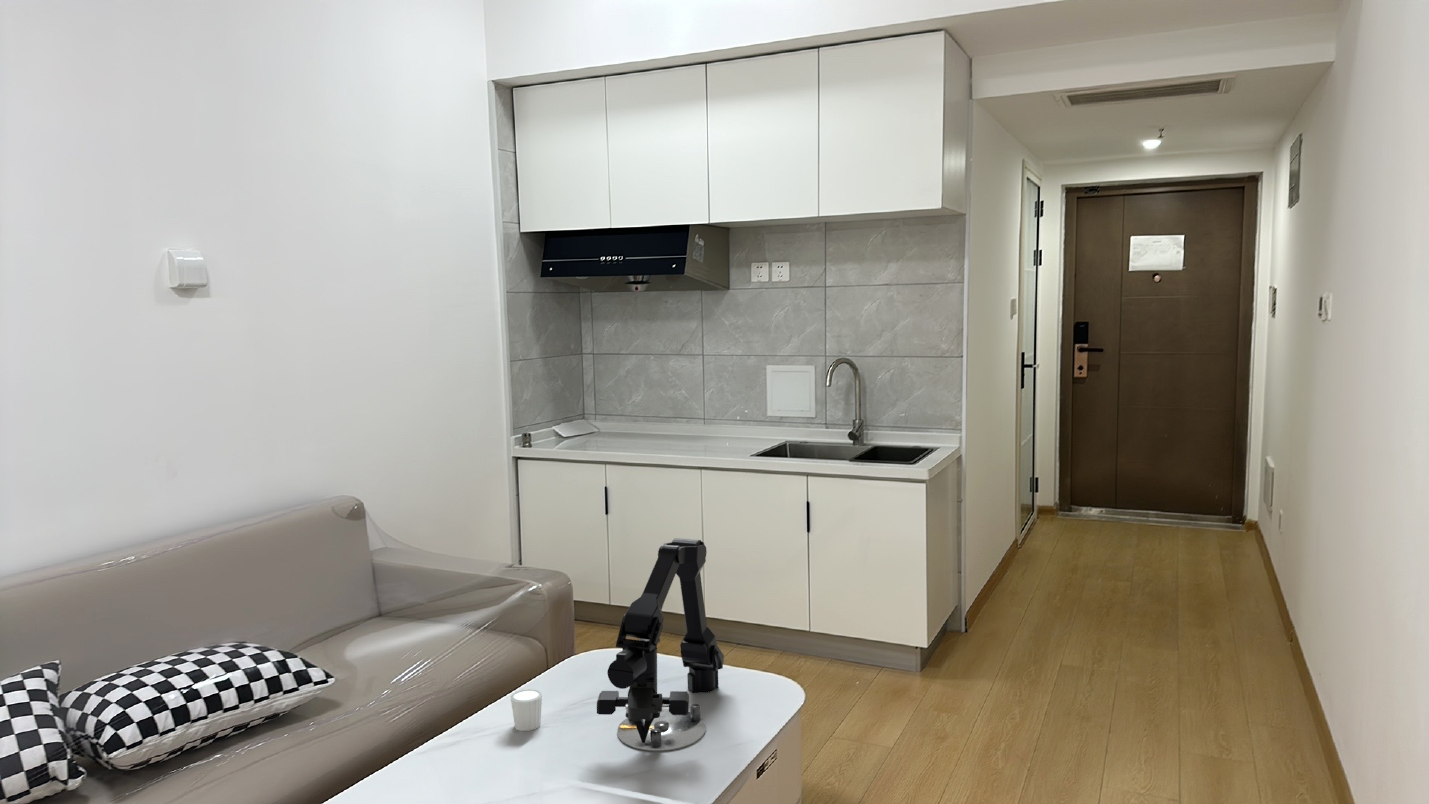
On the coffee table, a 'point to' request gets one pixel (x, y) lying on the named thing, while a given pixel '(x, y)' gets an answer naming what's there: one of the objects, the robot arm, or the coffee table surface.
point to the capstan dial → (665, 731)
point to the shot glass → (526, 709)
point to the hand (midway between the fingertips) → (643, 742)
